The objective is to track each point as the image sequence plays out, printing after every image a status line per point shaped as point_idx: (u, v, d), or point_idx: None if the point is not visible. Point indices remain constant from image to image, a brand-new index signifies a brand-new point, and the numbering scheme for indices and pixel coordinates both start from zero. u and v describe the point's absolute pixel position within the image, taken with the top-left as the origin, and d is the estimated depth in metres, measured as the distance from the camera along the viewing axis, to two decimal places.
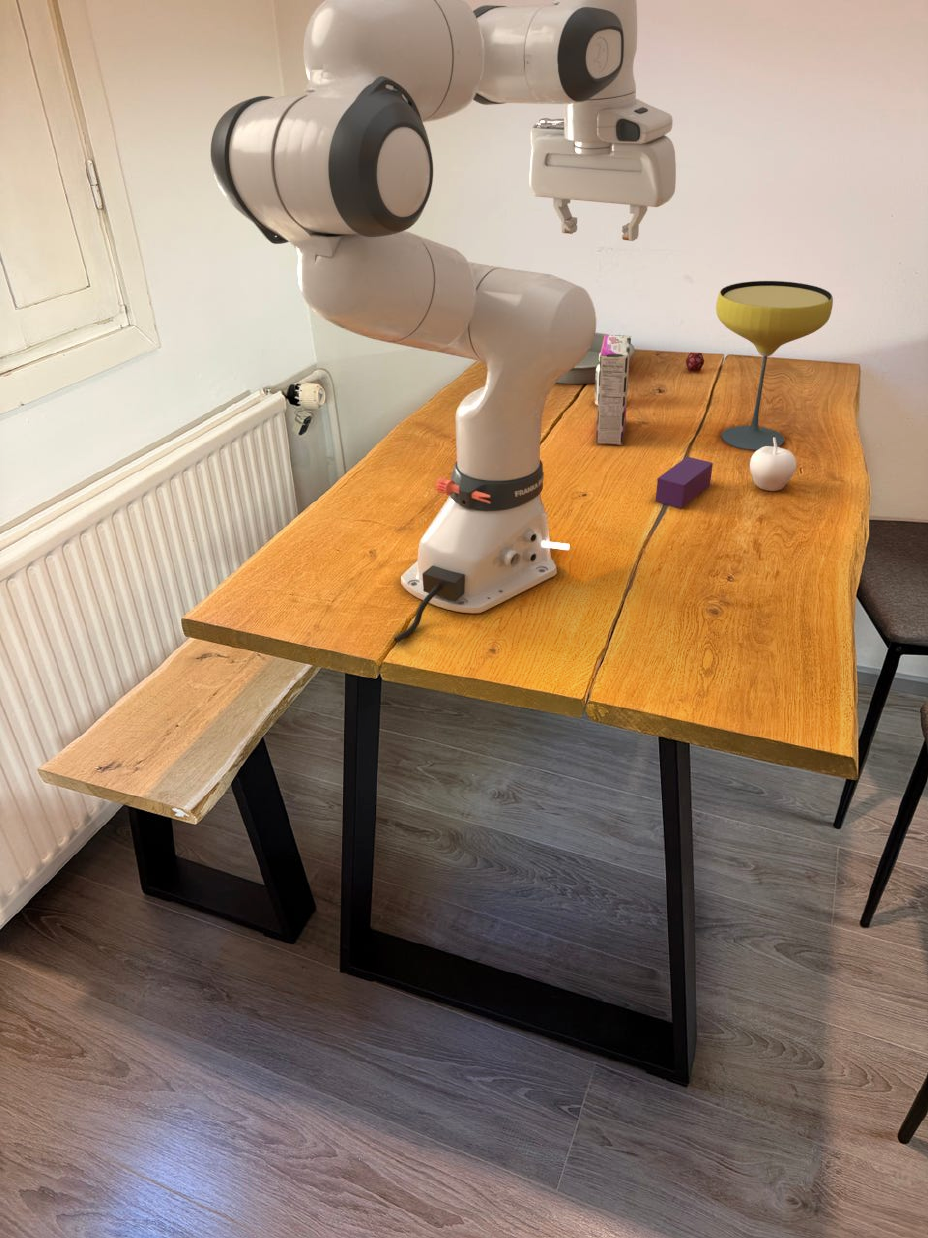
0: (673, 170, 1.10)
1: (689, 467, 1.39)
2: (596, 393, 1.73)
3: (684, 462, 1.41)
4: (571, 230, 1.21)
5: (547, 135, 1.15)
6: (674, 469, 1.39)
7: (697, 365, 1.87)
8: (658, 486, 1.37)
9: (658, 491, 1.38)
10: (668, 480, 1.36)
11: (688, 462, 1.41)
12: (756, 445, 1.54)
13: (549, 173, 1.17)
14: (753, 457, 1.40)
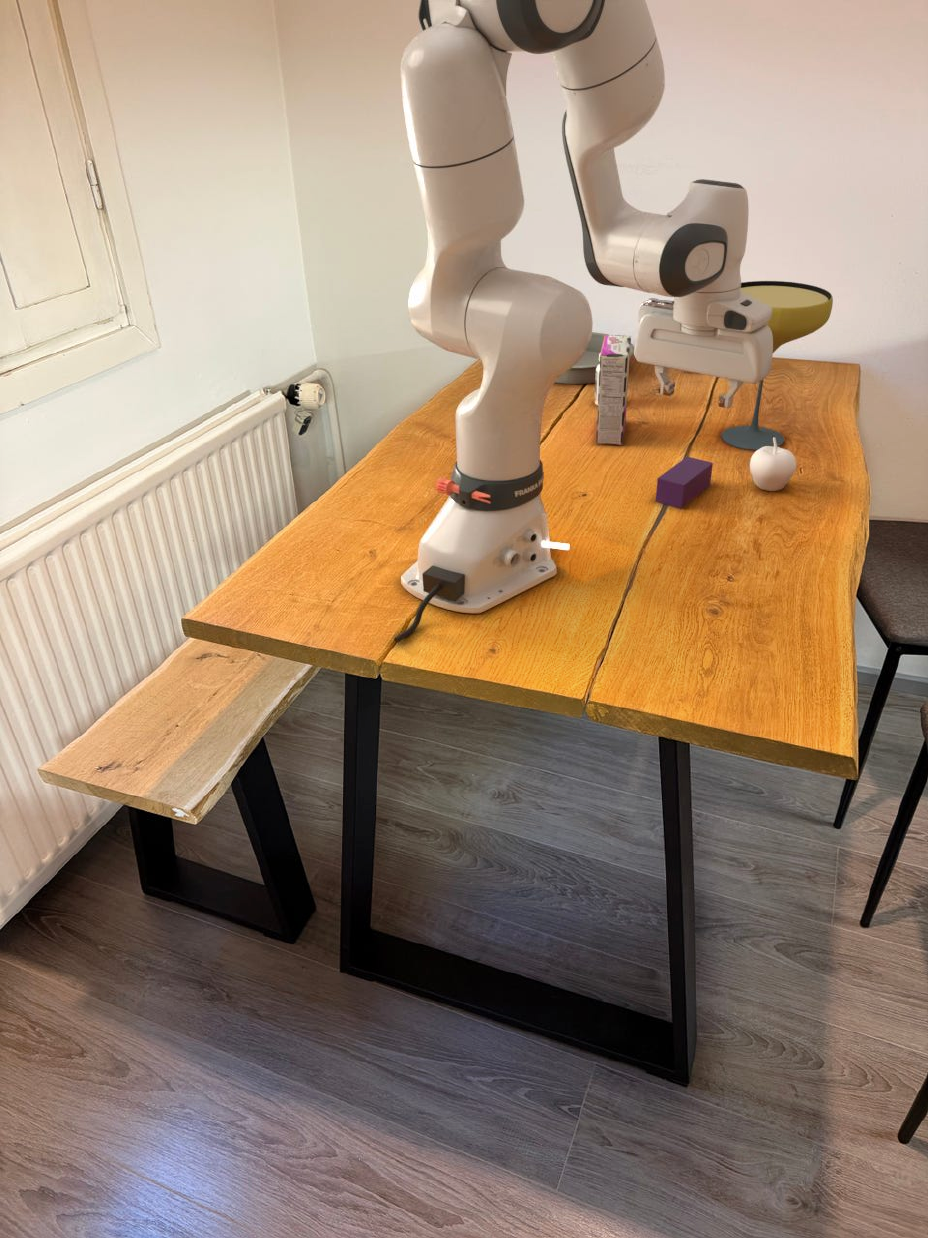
0: (771, 354, 1.24)
1: (689, 467, 1.39)
2: (596, 393, 1.73)
3: (684, 462, 1.41)
4: (669, 393, 1.34)
5: (655, 313, 1.29)
6: (674, 469, 1.39)
7: None
8: (658, 486, 1.37)
9: (658, 491, 1.38)
10: (668, 480, 1.36)
11: (688, 462, 1.41)
12: (756, 445, 1.54)
13: (654, 345, 1.31)
14: (753, 457, 1.40)
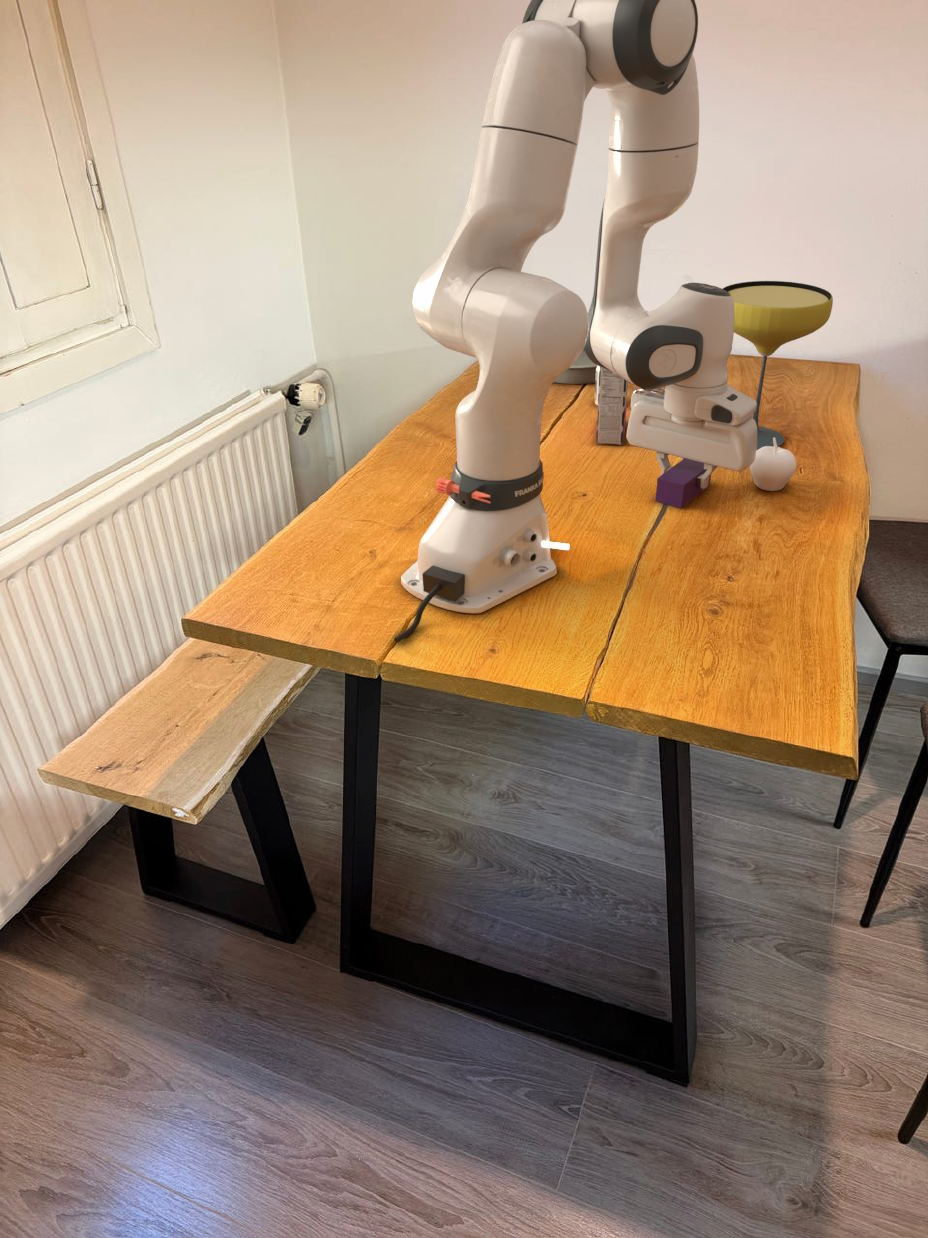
0: (755, 444, 1.31)
1: (689, 467, 1.39)
2: (596, 393, 1.73)
3: (684, 462, 1.41)
4: None
5: (646, 401, 1.36)
6: (674, 469, 1.39)
7: None
8: (658, 486, 1.37)
9: (657, 491, 1.38)
10: (668, 480, 1.36)
11: (688, 462, 1.41)
12: None
13: (645, 430, 1.38)
14: None
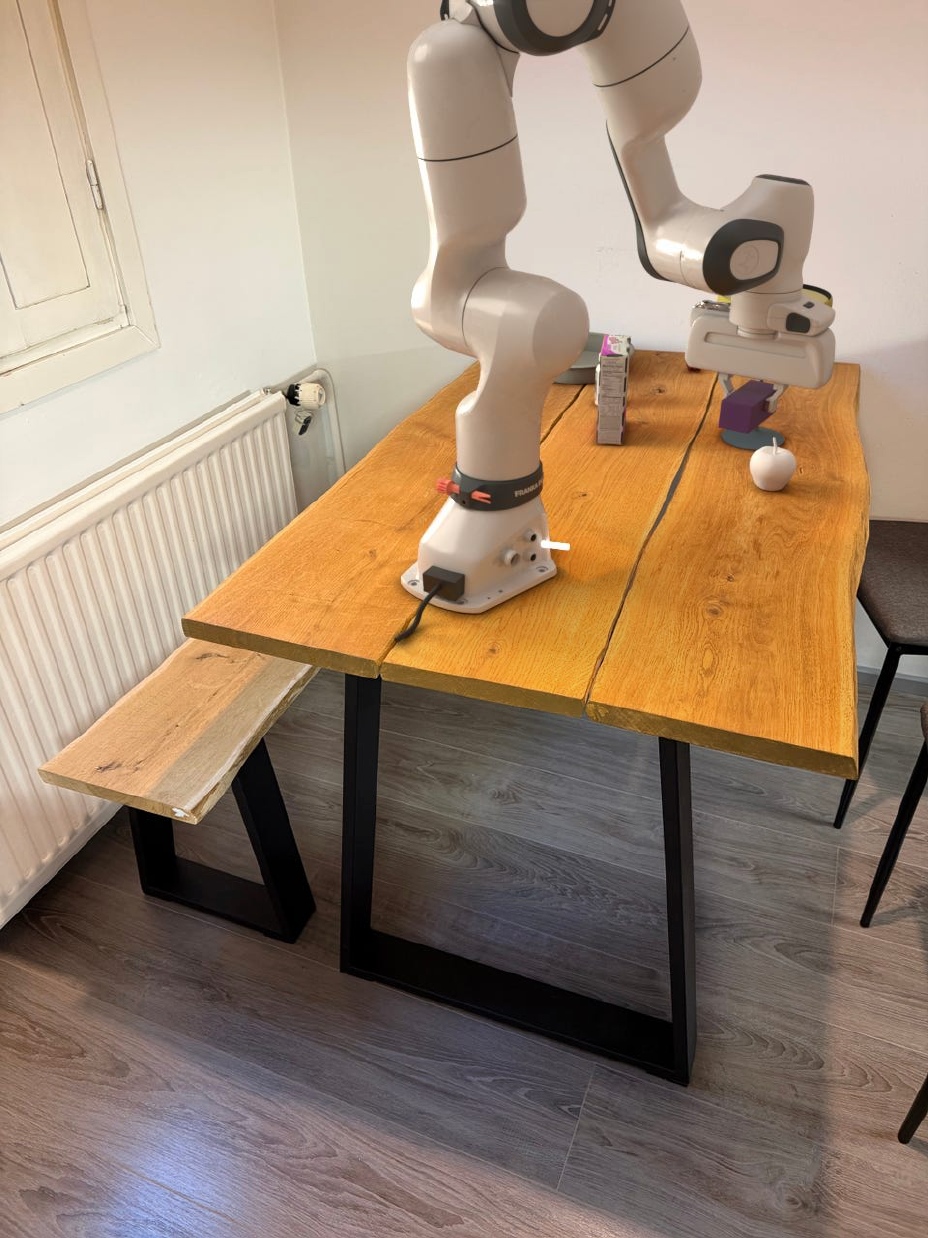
0: (833, 358, 1.18)
1: (755, 389, 1.26)
2: (596, 393, 1.73)
3: (749, 385, 1.28)
4: None
5: (709, 315, 1.23)
6: (738, 392, 1.26)
7: None
8: (722, 410, 1.24)
9: (721, 415, 1.25)
10: (734, 402, 1.23)
11: (753, 385, 1.28)
12: (756, 445, 1.54)
13: (707, 349, 1.25)
14: (753, 457, 1.40)
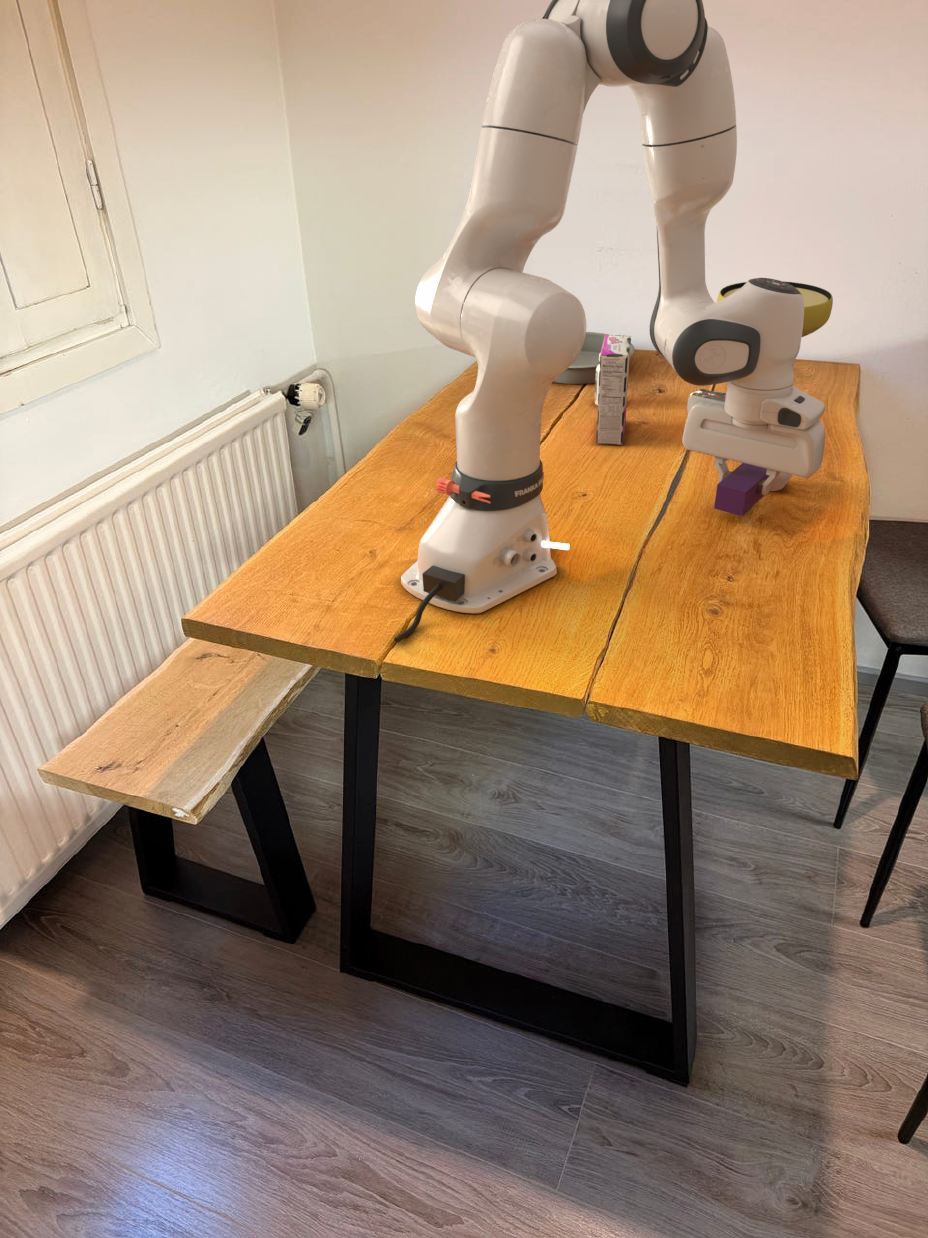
0: (823, 448, 1.24)
1: (749, 472, 1.33)
2: (596, 393, 1.73)
3: (743, 467, 1.34)
4: None
5: (705, 403, 1.29)
6: (733, 474, 1.32)
7: None
8: (717, 493, 1.31)
9: (717, 497, 1.31)
10: (729, 486, 1.29)
11: (747, 467, 1.34)
12: None
13: (703, 435, 1.31)
14: None
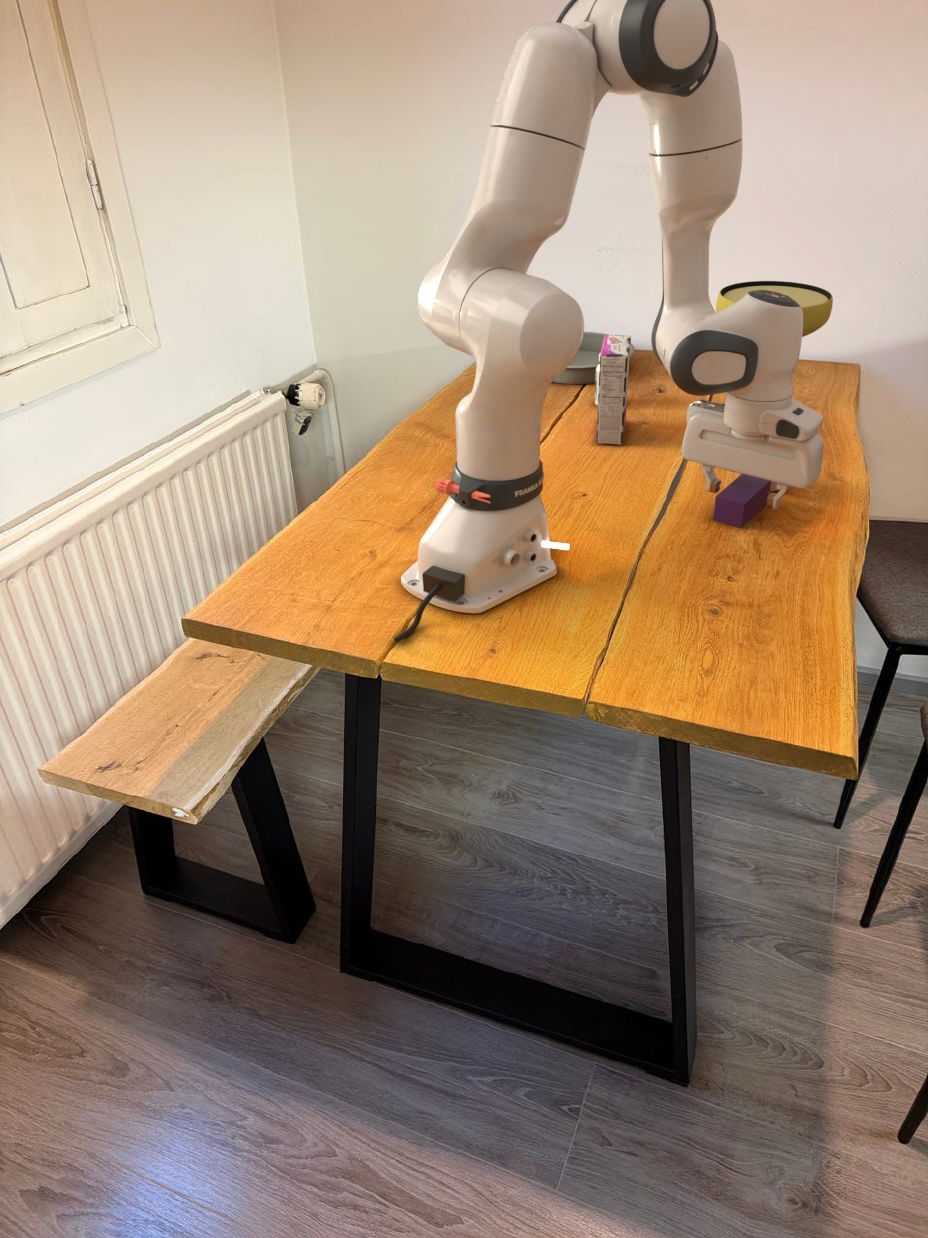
0: (821, 460, 1.25)
1: (748, 484, 1.34)
2: (596, 393, 1.73)
3: (742, 478, 1.35)
4: (715, 490, 1.35)
5: (704, 414, 1.30)
6: (732, 486, 1.33)
7: None
8: (716, 504, 1.31)
9: (715, 509, 1.32)
10: (728, 498, 1.30)
11: (745, 479, 1.35)
12: None
13: (702, 445, 1.32)
14: None
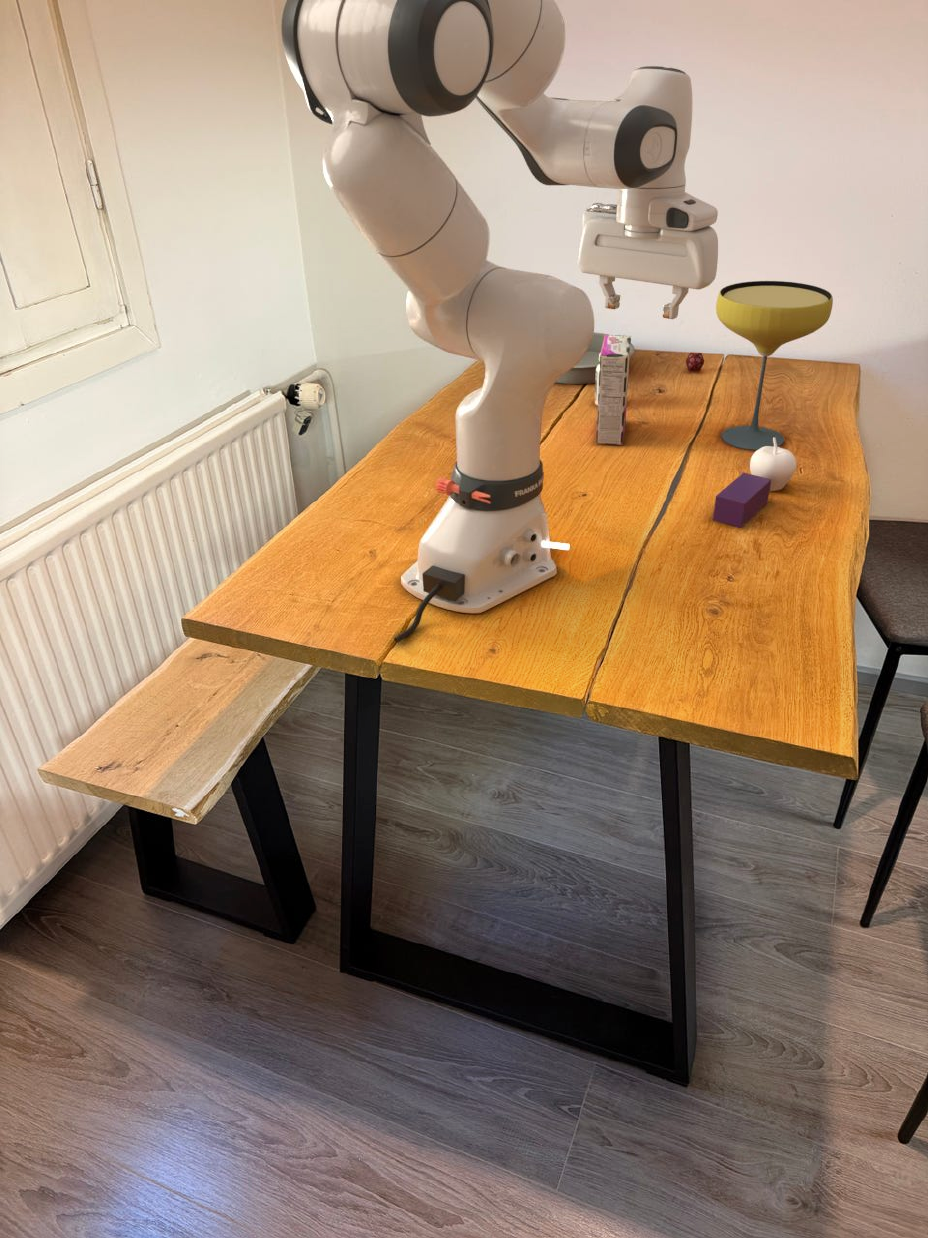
0: (716, 258, 1.18)
1: (748, 484, 1.34)
2: (596, 393, 1.73)
3: (742, 478, 1.35)
4: (614, 305, 1.29)
5: (599, 218, 1.24)
6: (732, 486, 1.33)
7: (697, 365, 1.87)
8: (716, 504, 1.31)
9: (715, 509, 1.32)
10: (728, 498, 1.30)
11: (745, 479, 1.35)
12: (756, 445, 1.54)
13: (598, 252, 1.25)
14: (753, 457, 1.40)
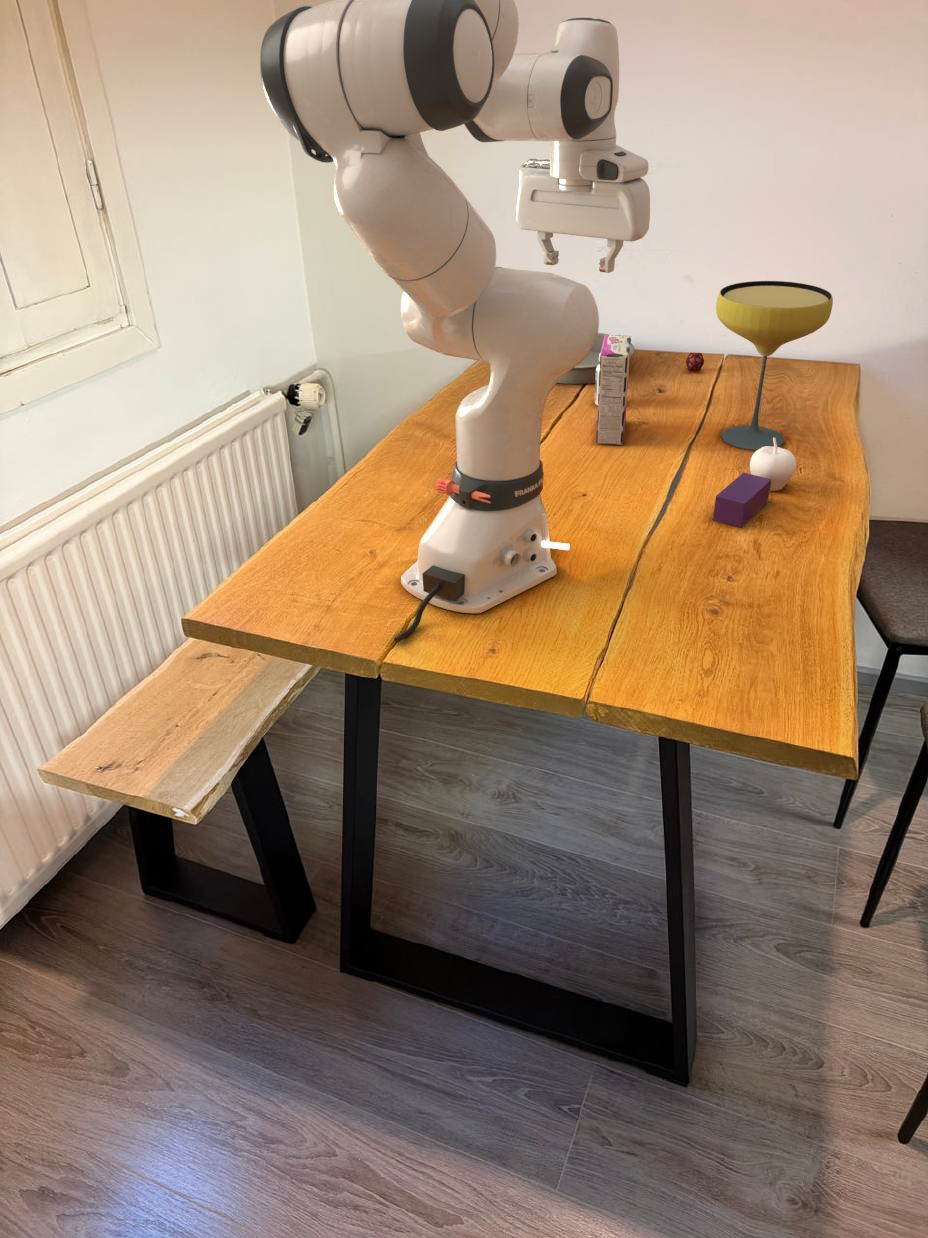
0: (648, 210, 1.20)
1: (748, 484, 1.34)
2: (596, 393, 1.73)
3: (742, 478, 1.35)
4: (552, 261, 1.30)
5: (534, 173, 1.25)
6: (732, 486, 1.33)
7: (697, 365, 1.87)
8: (716, 504, 1.31)
9: (715, 509, 1.32)
10: (728, 498, 1.30)
11: (745, 479, 1.35)
12: (756, 445, 1.54)
13: (534, 208, 1.27)
14: (753, 457, 1.40)
